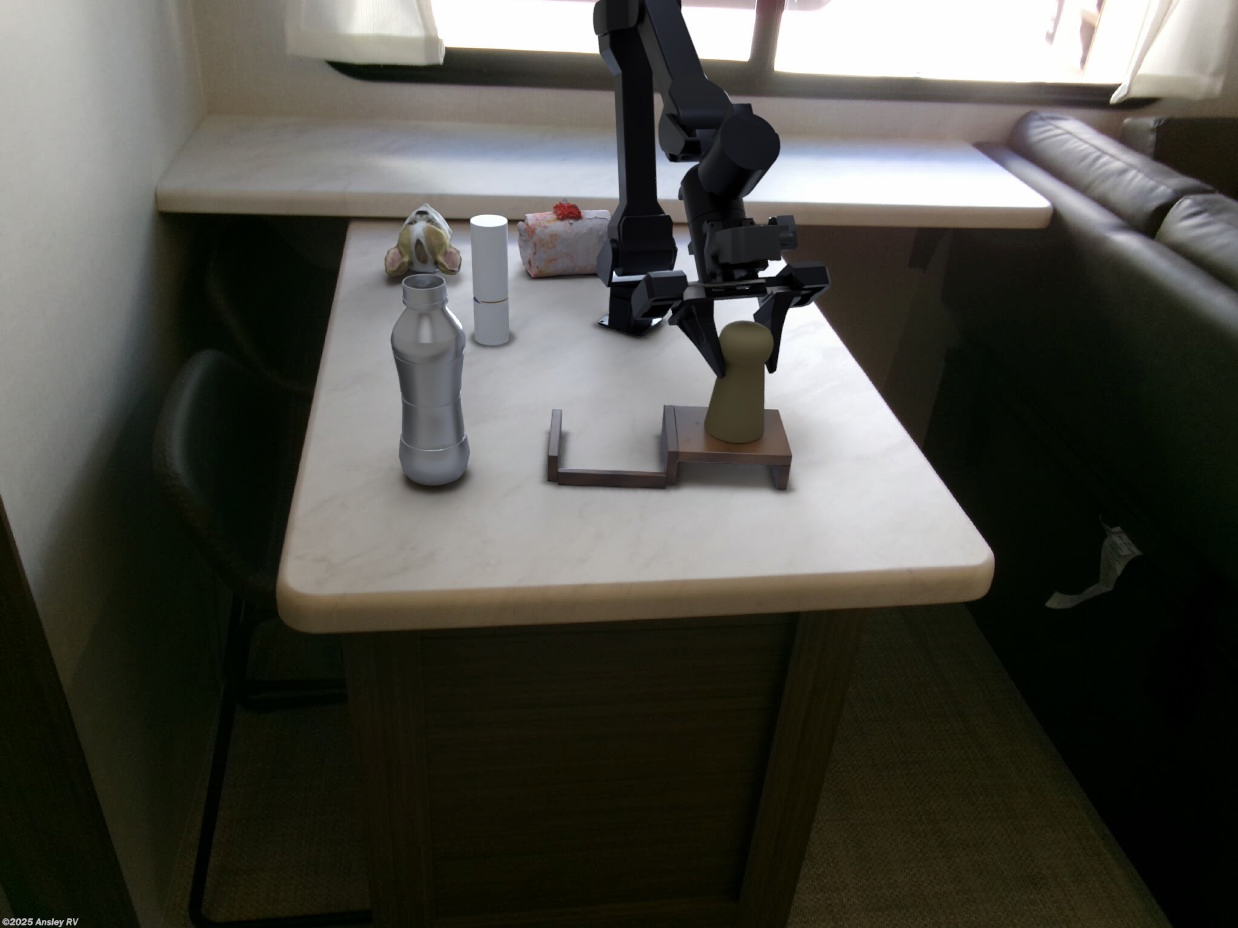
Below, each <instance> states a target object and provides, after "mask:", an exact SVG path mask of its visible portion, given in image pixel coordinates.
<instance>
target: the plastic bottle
mask: <svg viewBox="0 0 1238 928" xmlns="http://www.w3.org/2000/svg"><path fill="white" fill-rule="evenodd" d="M401 289H402V296H401V303H402V304H403V305H404V306H405V308H404V310H403V311H402V313H400V315H399V316H398V318H397V320H396V322H395V323H394V325H393V327H392V331H391V334H390V345H391V350H392V355H393V356H392V357H393V359H394V364H395V368H396V372H397V376H398V383H399V390H400V398H401V406H402V407H401V433H400V436H399V437H400V438H399V443H398V444H399V445H398V460H399V462H400V467H401V469H402V472H403V473H404V474H405V475H406V476H407V477H408V479H410V480H411V481H413V482H415V483H416V484H420V485H423V486H433V487H434V486H442V485H447V484H451V483H453V482H455V481H457V480H458V479H460V477H462V476H463V474H464V473H465V472H466V470H467V468H468V466H469V461H470V456H471V450H470V444H469V439H468V435H467V432H466V429H465V422H464V415H463V407H462V406H463V405H462V385H463V384H462V381H463V380H462V379H463V378H462V376H463V368H464V359H465V352H466V341H467V340H466V339H467V337H466V333H465V329H464V327H463V325H462V324H461V322H460V321H459V320H458V318H457V317H456V315H455V314H454V313H453V312H452V311H451V310H450V309H449V308H448V307H447V306H446V305H448V303H449V294H448V293H447V282H446V280H445V278H444V277H442V276H440V275H437V274H431V273H419V274H412V275H408V276H406V277H405V278H403V280H402V282H401Z"/></svg>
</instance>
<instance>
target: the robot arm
mask: <svg viewBox="0 0 1238 928" xmlns="http://www.w3.org/2000/svg"><path fill="white" fill-rule="evenodd" d="M682 6H683V5H682V0H598V1H595V3H594V7H593V10H592V26H593V27H592V28H593V31H594V34H595V36H597V43H598V52H599V55H600V56H601V58H602V60H603V62H604V63H605V64H606V66H607V68H608V69H609V71H610V73H611V74H612V76H613V88H614V91H613V92H614V110H615V111H614V112H615V113H614V114H615V130H616V131H615V135H616V157H617V179H618V181H617V182H618V205H617V206H616V208H615V210H614V212H613V214H612V218H611V220H610V222H609V223H608V226H607V239H606V241H605V243H604V245H603V246H602V248H601V250H600V252H599V254H598V256H597V259H596V260H597V274H596V275H597V276H598V277H599V279H600V280H601V282H602V283H603V285H604V286H605V287H606V288H609V296H608V314H606V315H605V316H603V317H602V318H600V319H598V320H597V325H598V326H600V327H603V328H606V329H610V330H613V331H617V332H619V333H623V334H627V335H630V336H634V337H637V338H642V337H644V336H645V335H646V334H647V333H649V332H650V331H652V330H653V329H655V327H657V326H658V325H660V324H661V323H663V322H664V318H665V317H666V315H667V314H668V312H669V311H670V312H671V314H670V316H669V318H668V319H667V323H668V326H675V327H676V326H677V328H678V329H679V330H680V331H681V332H682V333H683V334H684V335H685V336H686V337H687V339H689V341H690V342H691V343H692V344H693V345H694V347H695V348H696V349H697V351H698V352H699V354H700V355H701V357H702V358H703V359H704V360H705V362H706V363H707V365H708V366H709V368H710V369H711V370H712V372H713V373H714V375H715V376H716V377H718V379H722V378H724V377H725V375H726V373H725V364H724V358H723V354H722V350H721V346H720V342H719V334H718V330H717V327H716V321H715V302H717V301H728V300H729V301H731V300H742V299H754V298H757V303H758V309H757V310H756V311H755V312H754V313H753V314H752V317H753V322H757V323H760V324H762V325H763V326H765V327H767V328H768V329H769V330H770V332H771V334H772V337H773V343H774V345H773V350H772V352H771V355H770V357H769V359H768V360H767V361H766V362H765V369H766V370H767V373H768V374H769V375H772V374H774V373H775V372H777V369H778V364H779V357H780V356H779V355H780V350H781V343H782V335H783V329H784V325H785V322H786V321H785V320H786V318H787V314H788V312H789V310H790V309H795V308H796V309H797V308H804V307H807V306H810V305H811V304H812V303H813V302H815V301H816V300H818V298H819V297H821V296H822V295H823V294H824V293H825V292H826V291H828V290H829V289H830V288H831V287H832V286H833V285H832V280H831V279H832V278H831V276H830V271H829V269H828V267H827V266H826V265H825V264H824V263H823V262H821V261H820V260H813V261H798V262H788V263H786V265H784V267H782V268H781V270H779V272H778V273H777V274H775V275H771V276H759V273H760V272H765V271H766V270H767V269H768V268H769V267H770V264H769V262H781V261H782V260H783V259H782V252H790V251H795V250H797V248H798V246H799V233H798V228H797V224H796V220H795V217H794V214H787V215H785V214H783V215H775V216H771V217H769V218H768V221H767V225H757V224H756V221H755V220H754V218H753V217H747V213H746V207H745V203H744V202H745V201H744V198H746V197H748V196H749V195H750V194H751V193H752V192H753V191H754V189H755V188H756V187H757V186H758V184H759V183H760V182H761V181H762V179H764V177H765V176H766V174H767V173H768V172H769V170H770V169H771V168H772V166H773V165H775V163H776V161H777V159H778V158H779V156H780V153H781V148H782V147H781V139H780V135H779V133H777V132H776V131H775V129H774V127H773V126H772V125H771V124H770V122H769V121H767V120H766V119H765V118H764V117H761V116H760V115H758V114H755V113H754V109H753V105H752V103H751V102H732V100H731V98H730V96H729V95H728V93H727V92H726V91H725V89H724V88H722V87H721V86H719V85H718V84H716V83H715V82H713V81H712V80H710V79H708V76H707V75H706V73H705V71H704V68H703V65H702V63H701V60H700V57H699V55H698V52H697V50H696V47H695V44H694V42H693V38H692V36H691V33H690V31H689V28H688V26H687V23H686V21H685V17H684V15H683V12H682V10H683V9H682V8H683V7H682ZM654 80H655V83H656V86H657V88H658V92H659V94H660V97H661V101H662V105H663V106H662V110H661V115H660V117H659V120H658V124H657V128H658V129H657V136H658V137H657V138H658V144H659V146H660V147H659V148H660V149H661V151H662V152H663V153H664V155H665V157H666V159H667V160H668V161H669V163H675V164H678V163H681V164H682V163H683V164H684V163H696V164H694V165H693V166H691V167H690V168H689V169H688V170H687V171H686V172H685V173H684V175H683V177H682V179H681V181H680V187H679V188H678V193H677V200H678V201H681V202H682V201H683V206H684V211H685V215H686V216H685V217H686V221H687V227H688V232H689V237H690V238H689V239H690V241H689V243H688V244H687V251H688V252H687V253H688V255H689V256H693V258H694V263H695V268H696V274H697V280H694V281H693V280H691V281H689V280H688V277H687V276H688V275H687V274H686V273H685V272H684V271H683V269H678V270H675V265H676V261H677V257H678V251H679V248H678V247H677V243H676V242H677V241H676V239H675V237H674V230H673V229H674V221H673V219H672V216H671V215H670V214H669V213H668V214H667V213H666V212H665V210H664V209H663V207H662V206H661V204H660V202H659V199H658V183H657V182H658V178H657V177H658V176H657V148H656V146H657V145H656V117H655V116H656V115H655V90H654V89H655V88H654V84H655V83H654Z"/></svg>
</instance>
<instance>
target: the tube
mask: <svg viewBox="0 0 1238 928" xmlns="http://www.w3.org/2000/svg"><path fill="white" fill-rule="evenodd" d="M469 221H470V223H469V225H470V244H471V245H470V246H471V247H470V250H471V275H472V276H471V277H472V295H473V298H472V301H473V304H472V305H473V324H474V325H473V326H474V328H473V330H474V340H475V342H477V343H478V344H480V345H484V346H500V345H504V344H506V343H508V342H509V340H510V299H509V295H510V294H509V236H508V235H509V234H508V233H509V232H508V231H509V230H508V226H509V225H508V219H507V218H506V217H504V216H502V215H497V214H480V215H475V216H472V217H471V218H470V220H469Z"/></svg>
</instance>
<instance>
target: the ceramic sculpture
mask: <svg viewBox="0 0 1238 928" xmlns="http://www.w3.org/2000/svg"><path fill="white" fill-rule="evenodd" d="M452 239H453V229H451V228H450V227H449V225H448V223H447V221H446V220H445V218H444V217H443V216H442V215H441V214H440V213H439V212H438V211H437V210H435V209H434V208H433V207H431V206H430V205H429V204H428V203H427V202H424V203H423V204H422V205H421V206H420V207H419V208H417V209H416V210H414V211H413V212H412V213H411V214H410V215H409V216H408V217H407V218H406V219H405V222H404V224H403V226H402V228H401V229H400V231H399V234H398V239H397V242H396V245H395V246H393V247H391V248H389V249H388V250H387V252H386V254H385V256H384V260H383V261H384V272H385V274H386V275H387V276H394V277H395V276H401V275H403V274H405V273H406V272H408V270H409V269H410V270H411V271H413V272H416V273H433V272H436V271H438V270H439V272H440V273H442V274H444V275H447V276H456V275H458V274H459V273H460V271H461V268H462V262H463V261H462V260H463V258H462V256H461V252H460V251H461V250H459V249H458V248H456V247H455V246H453V245H452Z"/></svg>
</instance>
